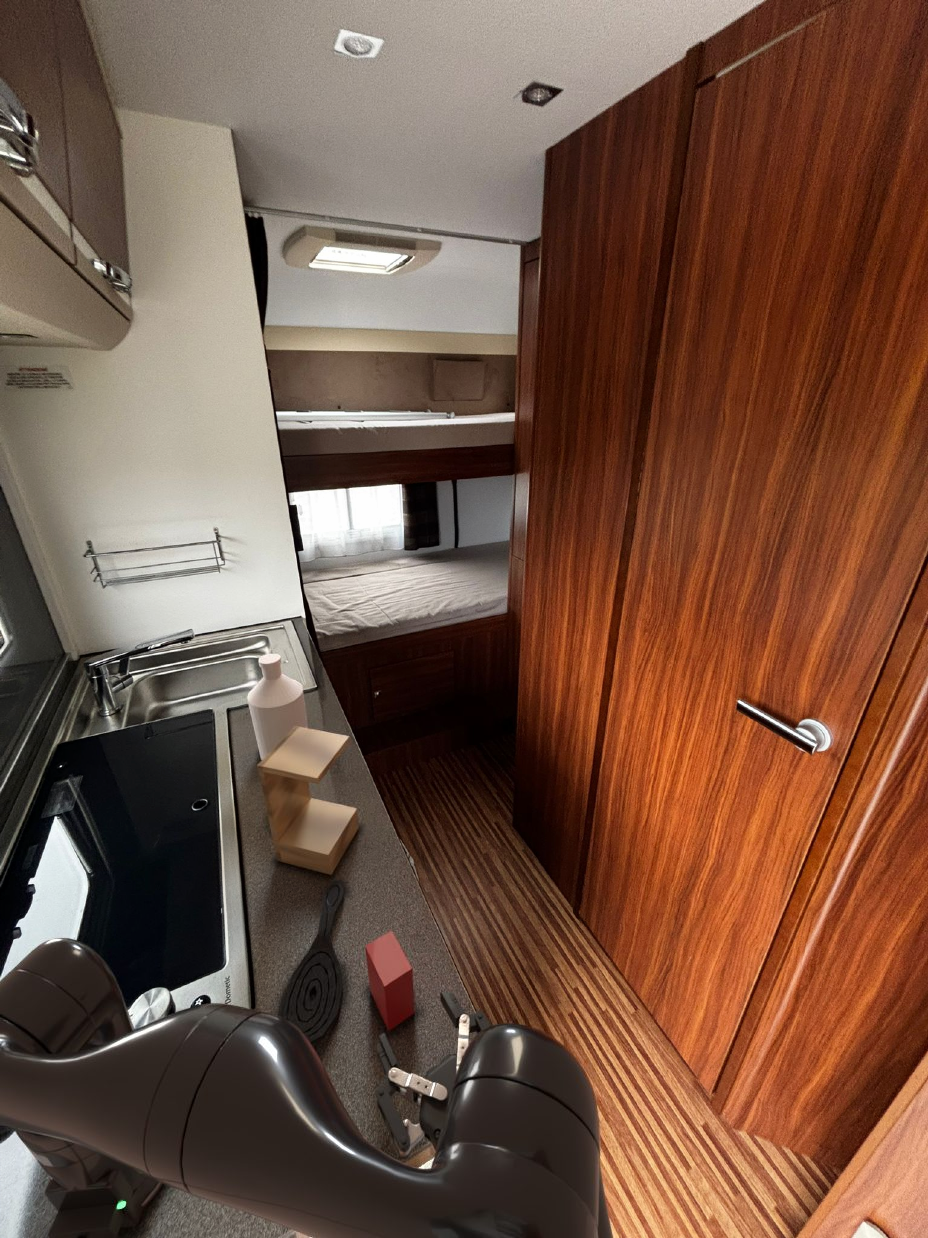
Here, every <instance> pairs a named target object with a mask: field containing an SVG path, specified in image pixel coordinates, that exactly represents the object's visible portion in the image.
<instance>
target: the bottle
mask: <svg viewBox="0 0 928 1238" xmlns="http://www.w3.org/2000/svg"><path fill="white" fill-rule="evenodd" d="M281 664H282V657H281V655H280V654H278V653H266V654H263V655H262V656H260V657H259V658H258V665H259V667H260V668H261V673H262V677H261V678H260V680H259V681H258V682H257V684H256V685H254V686H253V687H252V688H251V690H250V691H249V692H248V694H247V698H246V701H247V705H248V709H249V712H250V713H249V714H250V717H251V722H252V727H253V730H254V735H255V739H256V743H257V747H258V752H259V756H260V760H261V761H262V760H263V759H264V758H265V757H266V756H267V755H268V754H269V753H270V752H271V750H272V749H273V748H274V747H275V746H276V745H277V744H278V743H279V742H280V741H281V740H282V739H283V738H284V737H285V736H286V735H287V734H288V733H289V732H290V731H291V730H292V729H293V727H294V726H298V727H303V728H309V727H308V719H307V711H306V702H305V701H306V700H305V695H304V694H305V693H304V687H303V685H302V683H300V682H299V681H297V680H295V679H293V678H290V677H289V676H287V675H285V674H283V673H282V667H281Z"/></svg>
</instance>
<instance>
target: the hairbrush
mask: <svg viewBox="0 0 928 1238" xmlns="http://www.w3.org/2000/svg"><path fill="white" fill-rule="evenodd" d="M344 897H345V886H344V884H343V883H342V881H341V880H335V881H333V882H332V883H331V884H329V885H328V886H327V887H326V889H325V891H324V893H323V896H322V898H321V899H322V901H321V914H320V919H319V925H318V930H317V934H316V937H314V940H313V942H312V944H311V946H310V948H309V949H308V951H307V952H306V954H305V955H304V956H303V958H302V959H301V961H300V963H299V964H298V965H297V967H296V968H295V970H294V971H293V973H292V974H291V977H290V979H289V981H288V983H287V986H286V988H285V990H284V992H283V994H282V998H281V1000H280V1004H279V1007H278V1012H277V1016H280V1017H284V1018H286V1019H288V1020H290V1021H291V1022H292V1023H294V1024H295V1025H296V1026H297V1027H298V1028H299V1029H300V1030H301V1031H302V1032H303V1033H304V1034H305V1036H306V1037H307V1038H308V1040H309V1041H310V1043H311V1044H312V1046H313V1045H315V1044H317V1043H319V1042H320V1041H322V1040H324V1039H325V1038H326V1037H327V1035H328V1033H329V1032H330V1030H331V1029H332V1028H333V1026H334V1024H335V1023H336V1021H337V1020H338V1019H339V1014H340V1009H341V1006H342V999H343V998H342V997H343V993H344V982H343V981H344V980H343V975H342V974H343V973H342V969H341V964H340V962H339V958H338V957H337V956H338V955H337V954H336V950H335V949H334V947H333V942H332V937H331V935H332V932H333V928H334V924H335V920H336V916H337V914H338V912H339V910H340V908H341V907H342V904H343V902H344V899H345V898H344ZM314 991H316V995H315V997H314V999H313V1001H312V1002H311V996H312V994H313V992H314Z"/></svg>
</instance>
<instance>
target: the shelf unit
mask: <svg viewBox="0 0 928 1238" xmlns="http://www.w3.org/2000/svg"><path fill="white" fill-rule="evenodd" d="M350 742H351V739H350V736H349V735H345V734H339V733H335V732H334V733H333V732H329V731H324V730H323V731H322V730H318V729H313V728H310V727H308V728H303V727H298V726H294V727H293V729H292V730H291V731H290V732H289V733H288V734H287V735H286V736H285V737H284V738H283V739H282V740H281V741H280V742H279V743H278V744H277V745H276V746H275V747H274V748H273V749H272V750H271V752H270V753H269V754H268V755H267V756H266V757H265V758H264V759H263V760H262V759H261V761H260V762H259V763H258V764H257V771H258V776H259V780H260V784H261V785H260V786H261V789H262V794H263V799H264V805H265V810H266V809H267V812H266V815H267V814H268V815H267V818H268V824H269V828H270V832H271V838H272V842H273V848H274V851H275V856H276V861H277V862H280V863H281V862H282V863H284V864H289V865H293V866H296V867H300V868H304V869H307V870H311V871H316V872H319V873H322V874H326V875H330V876H332V875H333V873H334V871H335V869H336V867H337V866H338V864H339V862H340V861H341V858H342V857H343V855H344V854H345V852H346V850H347V848H348V847H349V846H350V843H351V842H352V841H353V838H354V837H355V835H356V833H357V832H358V830H359V828H360V824H359V815H358V808H356V807H353V806H349V805H345V804H344V805H343V804H339V803H335V802H330V801H327V800H321V799H317V798H313V797H312V795H311V790H310V783H312V784H316V785H318V784H319V783H320V782H321V781H322V779H323V778H324V777H325V775H327V772H328V771H329V770H330V769H331V767H332V766H333V765H334V763H335V762H336V760H337V759H339V757H340V756H341V754H342V753H343V752H344V750H345V749H346V747H348V745H349V743H350Z"/></svg>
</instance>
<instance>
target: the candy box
mask: <svg viewBox="0 0 928 1238" xmlns="http://www.w3.org/2000/svg"><path fill="white" fill-rule="evenodd" d="M364 949H365V958H366V967H367V974H368V976H367V977H368V983H369V992H370V994H371V996H372V998H373V1000H374V1002H375V1005H376V1007H377V1009H378V1011H379V1014H380V1016H381V1018H382V1020H383V1022H384V1025H385V1027H386V1029H387V1032H390V1031H391V1030H392V1029H394V1028H395V1027H397V1026H398V1025H399V1024H401V1023H402V1022H404V1021H405V1020H407V1019H408V1018H409V1017H410V1016H412V1015H413V1014H415V994H414V992H415V991H414V974H413V967H412V965H411V964H410V963H411V962H409V959H408V957H407V956H406V954H405V952H404V950H403V949H402V946H401V945H400V942H399V941H398V939H397V937H396V935H395V933H394V932H393V930H390V931H388V932H387V933H385V934H383V935H382V936H379V937H378V938H377V939H375V940H373V941H372V942H370V943H368V944H366V945H365V947H364Z"/></svg>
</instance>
